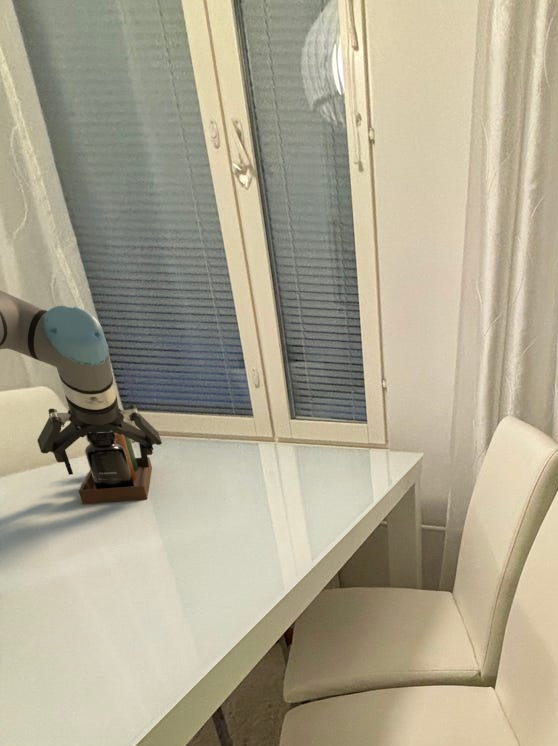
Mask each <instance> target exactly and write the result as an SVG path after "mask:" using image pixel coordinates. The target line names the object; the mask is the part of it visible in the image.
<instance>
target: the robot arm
mask: <svg viewBox="0 0 558 746" xmlns="http://www.w3.org/2000/svg"><path fill="white" fill-rule="evenodd" d="M0 350H12V351H14V352H17V353H19V354H22V355H24V356H27V357H29V358H32V359H34V360H37V361H39V362H43V363H45V364H47V365H50V366H51V367H55V369H56V370H57V373H58V376H59V380H60V383H61V386H62V389H63V392H64V396H65V400H66V403H67V406H68V410H67V412H58V410H57V409H56V408H49V409H48V419H47V420H46V422H45V425H44V426H43V428H42V430H41V432H40V433H39V436H38V438H37V443H38V447H39V450H40V453H41V454H48V453H52V454H53V455H54V457H55V460H56V462H57V463H64V465H65V468H66V471H67V473H68V475H74V472H73V469H72V466H71V463H70V460H69V457H68V453H67V451H66V450H67V449H68V448H70V447H71V446H72V445H73V444H74V443H75V442H76V441H77V440H79V439H80V438H84V437H87V436H86V435H87V434H88V433H89V432H91V433H98V432H110V431H113V432H115V433H117V434H119V435H122V434H123V435H124V436H126V437H128V438H130V440H131V441H133V442H135V443H138V446H139V451H140V452H139V453H140V458H142V461H143V464H144V466H145V468H147V467H149V464H148V456H152V455H153V453H154V447H153V445H157V446H161V445H162V444H163V441H162V439H161V437H160V433H159V431H158V430H156V428H155V427H154V426H152V424H151V423H150V422H149V421H148V420H146V418H144V417H143V415H141V414H140V413H139V410H138V407H137V405H134V404H132V405H131V404H130V405H129V407H128V408H129V409H121V408H120V407H119V402H118V397H117V391H116V386H115V381H114V377H113V372H112V366H111V359H110V348H109V344H108V342H107V340H106V336H105V332H104V329H103V327H102V325H101V323H100V322H99V321H98V320H97V319H96V317H95V316H93V314H91V313H90V312H88V311H86V310H84V309H82V308H80V307H77V306H73V307H71V306H70V307H69V306H66V305H56V306H54V307H51V308H49V310H46V309H43V308H42V307H39V306H37V305H34V304H32V303H30V302H28V301H25V300H23V299H21V298H19V297H17V296H15V295H11V294H9V293H8V292H5V291H3V290H1V289H0ZM124 419H127V420H128V421H130V423H132V424H134V425H135V426H134V425H132V424H130V423H129V422H127V421H125V420H124ZM67 422H69V423H68V424H67V425H66V426H65V424H66V423H67ZM62 428H63V429H62Z"/></svg>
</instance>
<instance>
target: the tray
mask: <svg viewBox="0 0 558 746" xmlns="http://www.w3.org/2000/svg"><path fill="white" fill-rule="evenodd" d="M147 457H148V456H147ZM135 458H136V462H137V465H138V470H137V471H134V473H135V476H136V480H134V481H133V483H134V486H132V487H118V488H104V489H96V487H95V484H94V480H93V477H92V473H91V470H90V469H89V471H88V473H87V475H86V477H85V478H84V480H83V482H82V483H81V486H80V487H79V489H78V491H77V492H78V494H79V498H80V500H81V504H82V505H89V504H90V505H91V504H102V503H114V502H127V501H138V500H147V499H148V496H149V490H150V485H151V484H150V483H151V479H152V471H153V466H152V462H151V459H150V457H148V464H149V467H147V468H145V466H144V464H143V461H142V458H141V457H135Z"/></svg>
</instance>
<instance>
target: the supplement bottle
mask: <svg viewBox="0 0 558 746" xmlns="http://www.w3.org/2000/svg"><path fill="white" fill-rule="evenodd" d="M85 437H86V440H87V442H89V444H88V445H86V447H85V449H84V453H85V456H86V460H87V463H88V467H89V471H90V470H91V473H92V477H93V480H94V484H95V487H96V489H104V488H118V487H132V486H134V483H133V479H132V475H131V471H130V468H129V464H128V460H127V456H126V453H125V449H124V448H123V447H122V446H121V445H119V444H117V443H116V440H117V439H116V437H115V433H114V432H113V431H110V432H98V433H91V432H89V433H88V434H87V435H86V436H85Z"/></svg>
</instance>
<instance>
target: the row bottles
mask: <svg viewBox="0 0 558 746" xmlns="http://www.w3.org/2000/svg"><path fill="white" fill-rule="evenodd" d="M114 433H115V432H114ZM115 437H116V439H117V440H116V443H117V444H119V445H121V446H122V447H123V448H124V449H125V453H126V456H127V460H128V464H129V468H130V471H131V475H132V479H133V481H134V480H136V476H135V473H134V471H137V470H138V465H137V462H136V458H137V457H136V455H135V452H134V447H133V445H132V439H130V438H128V437H126V436H124V435H123V434H122V435H119V434H117V433H115Z"/></svg>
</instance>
